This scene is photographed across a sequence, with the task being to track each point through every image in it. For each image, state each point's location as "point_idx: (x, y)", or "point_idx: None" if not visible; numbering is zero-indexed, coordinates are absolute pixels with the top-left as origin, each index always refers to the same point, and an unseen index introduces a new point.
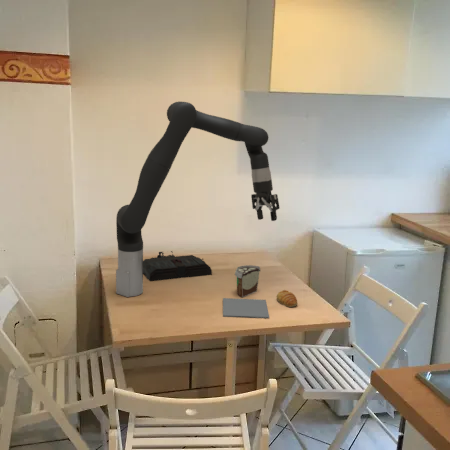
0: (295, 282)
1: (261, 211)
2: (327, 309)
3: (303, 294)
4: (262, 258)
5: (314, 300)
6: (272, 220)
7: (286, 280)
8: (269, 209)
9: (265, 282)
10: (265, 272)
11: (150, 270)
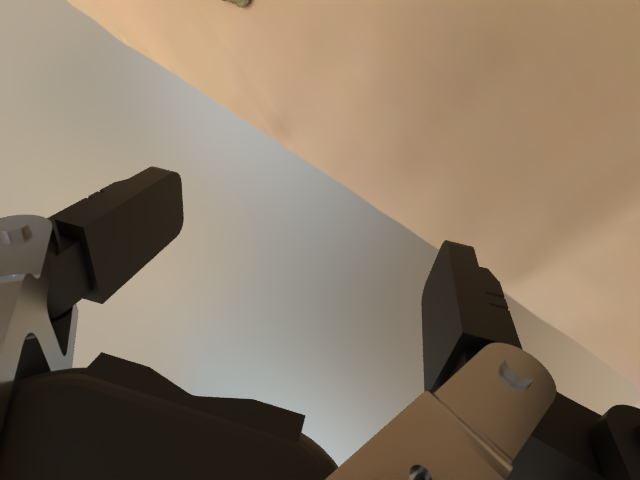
0: (347, 173)
1: (430, 365)
2: (133, 30)
3: (254, 87)
4: (621, 333)
5: (201, 67)
6: (155, 167)
7: (382, 168)
8: (43, 248)
9: (432, 79)
10: (508, 192)
11: None
